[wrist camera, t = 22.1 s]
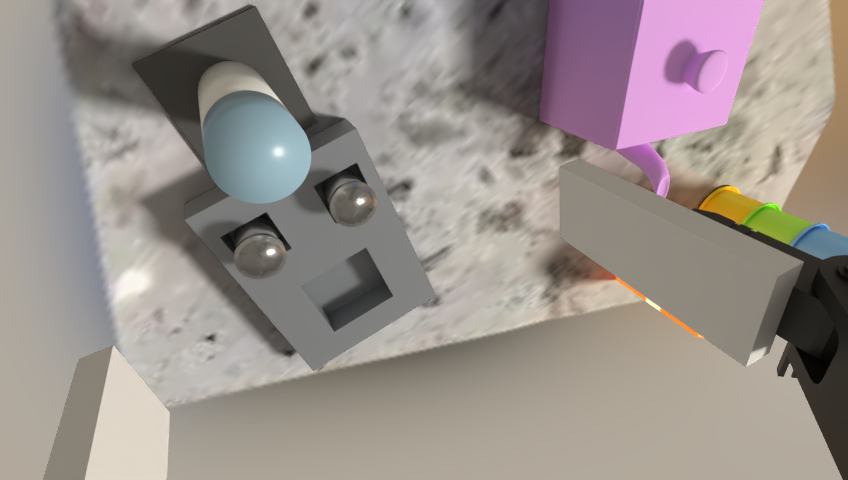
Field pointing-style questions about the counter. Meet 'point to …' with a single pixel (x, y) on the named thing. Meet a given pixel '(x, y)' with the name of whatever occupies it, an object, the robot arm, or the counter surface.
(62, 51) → the counter surface
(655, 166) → the teapot
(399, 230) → the housing
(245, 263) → the chrome dome knob
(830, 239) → the stacking cups
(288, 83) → the mat
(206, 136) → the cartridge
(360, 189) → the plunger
